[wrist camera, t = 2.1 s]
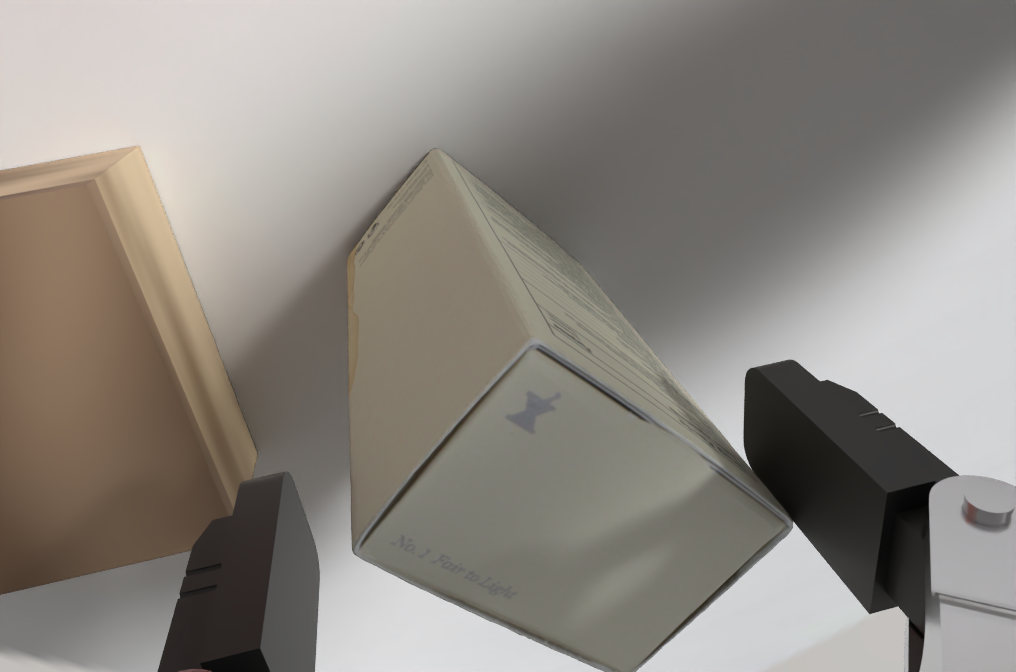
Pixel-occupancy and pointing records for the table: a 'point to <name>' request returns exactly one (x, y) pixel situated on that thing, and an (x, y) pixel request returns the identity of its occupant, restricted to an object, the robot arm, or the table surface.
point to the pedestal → (104, 378)
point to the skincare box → (531, 436)
